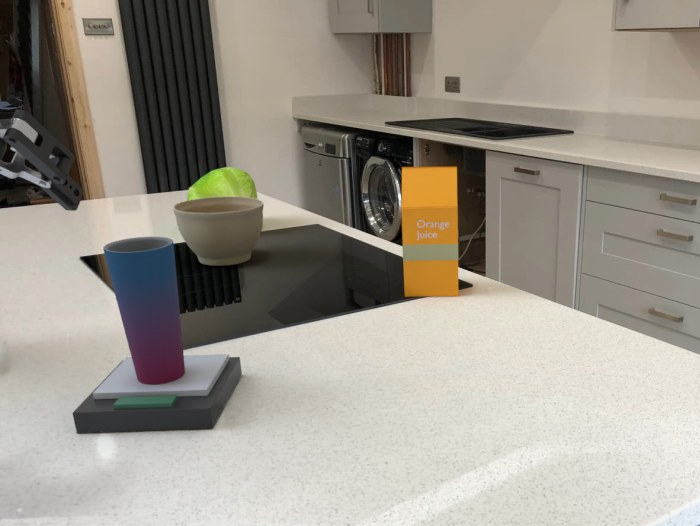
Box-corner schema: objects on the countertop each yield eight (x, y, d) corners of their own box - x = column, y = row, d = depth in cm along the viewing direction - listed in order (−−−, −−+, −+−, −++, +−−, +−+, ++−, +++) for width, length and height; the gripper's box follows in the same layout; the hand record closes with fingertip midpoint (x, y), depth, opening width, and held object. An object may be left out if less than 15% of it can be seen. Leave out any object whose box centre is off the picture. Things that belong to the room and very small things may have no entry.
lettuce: (208, 242, 154) (199, 177, 149) (181, 225, 170) (172, 166, 165) (278, 232, 162) (271, 170, 157) (246, 217, 178) (239, 160, 173)
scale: (76, 433, 76) (70, 405, 75) (125, 378, 89) (121, 353, 88) (212, 428, 77) (208, 401, 76) (242, 374, 90) (239, 350, 89)
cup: (120, 374, 82) (94, 243, 77) (180, 358, 86) (159, 233, 81) (140, 393, 77) (114, 255, 72) (203, 376, 82) (183, 244, 76)
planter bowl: (197, 277, 130) (188, 216, 126) (170, 258, 142) (161, 202, 138) (282, 262, 139) (277, 204, 135) (250, 246, 151) (244, 192, 147)
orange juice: (458, 296, 118) (457, 170, 111) (404, 297, 118) (399, 170, 111) (458, 282, 125) (457, 162, 118) (406, 282, 125) (402, 163, 118)
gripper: (-15, 22, 50) (119, 167, 65) (-182, 25, 53) (-18, 164, 68) (-60, 109, 47) (91, 240, 62) (-234, 107, 50) (-51, 233, 65)
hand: (34, 200), depth 65 cm, fingers open, 8 cm apart
